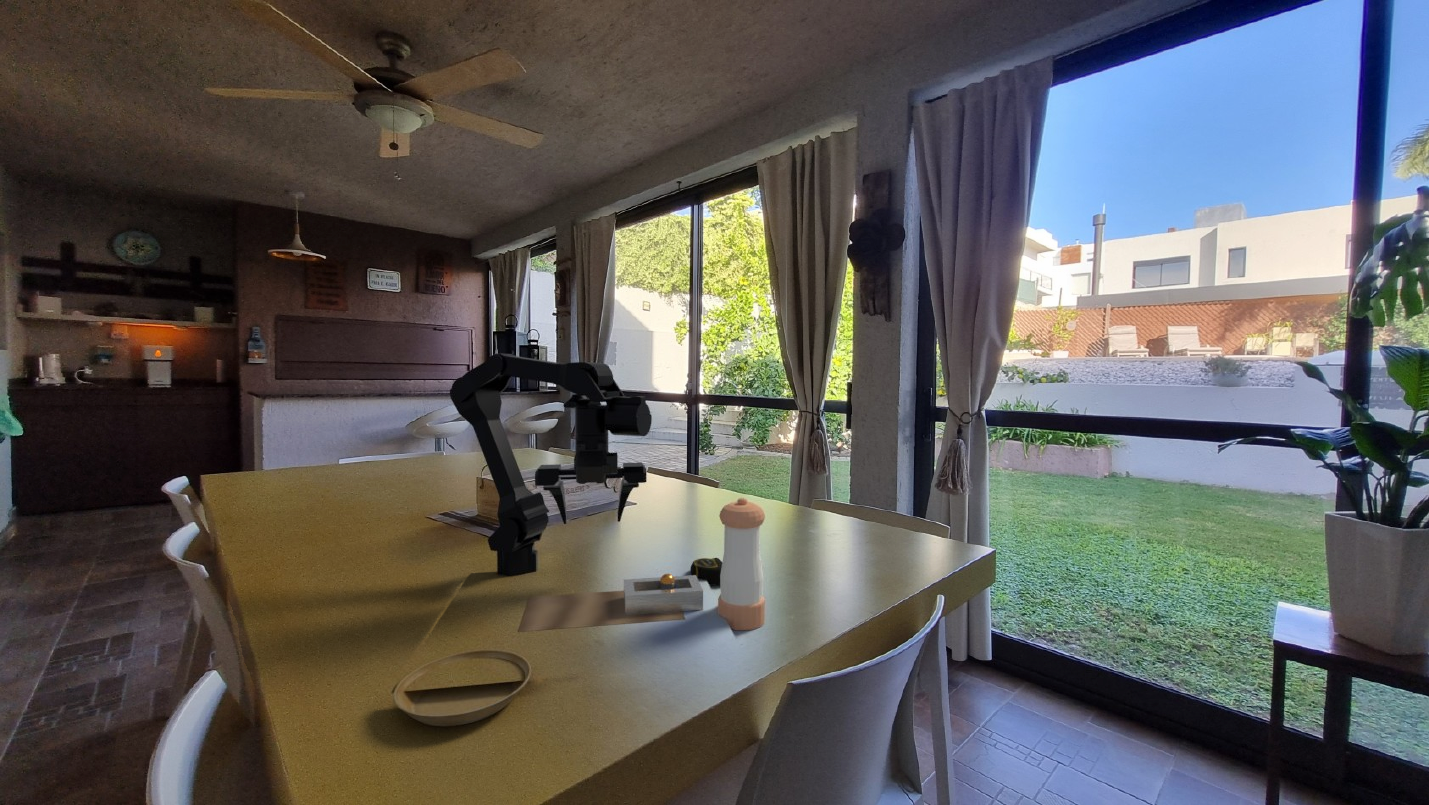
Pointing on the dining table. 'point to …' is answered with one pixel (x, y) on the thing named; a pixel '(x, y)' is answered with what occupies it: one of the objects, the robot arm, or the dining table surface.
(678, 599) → the grey rectangular frame
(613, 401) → the robot arm
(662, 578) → the keeper stud
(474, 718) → the plant saucer
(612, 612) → the keeper board
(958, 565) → the dining table surface
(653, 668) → the dining table surface
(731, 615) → the pepper shaker
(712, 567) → the tape measure
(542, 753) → the dining table surface
